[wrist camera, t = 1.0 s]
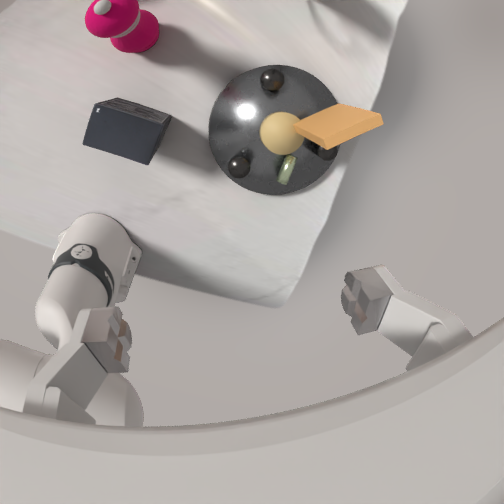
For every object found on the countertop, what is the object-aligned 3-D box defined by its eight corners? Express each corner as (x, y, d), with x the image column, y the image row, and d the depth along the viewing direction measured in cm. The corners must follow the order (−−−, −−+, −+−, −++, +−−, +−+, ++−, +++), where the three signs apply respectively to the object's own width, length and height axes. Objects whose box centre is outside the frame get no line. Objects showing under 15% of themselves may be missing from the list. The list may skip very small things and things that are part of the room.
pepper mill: (167, 44, 32) (144, 14, 15) (125, 62, 32) (75, 50, 16) (155, 10, 27) (127, -35, 11) (114, 28, 27) (61, 0, 11)
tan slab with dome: (270, 158, 44) (296, 187, 33) (251, 123, 40) (273, 139, 29) (343, 124, 42) (388, 142, 31) (328, 88, 38) (374, 94, 27)
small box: (103, 132, 38) (79, 146, 29) (116, 96, 35) (93, 100, 26) (158, 150, 42) (147, 168, 33) (173, 115, 39) (165, 123, 30)
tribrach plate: (308, 204, 53) (315, 213, 50) (192, 172, 45) (191, 180, 42) (354, 98, 42) (366, 100, 38) (235, 47, 34) (238, 43, 31)
